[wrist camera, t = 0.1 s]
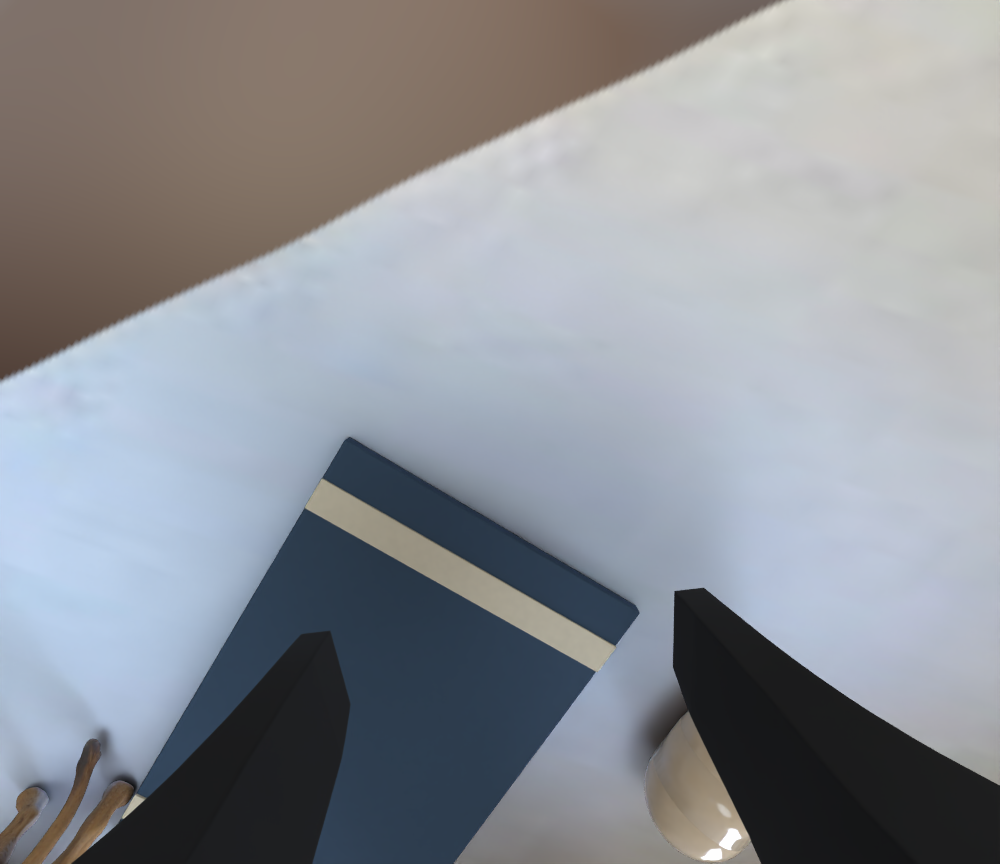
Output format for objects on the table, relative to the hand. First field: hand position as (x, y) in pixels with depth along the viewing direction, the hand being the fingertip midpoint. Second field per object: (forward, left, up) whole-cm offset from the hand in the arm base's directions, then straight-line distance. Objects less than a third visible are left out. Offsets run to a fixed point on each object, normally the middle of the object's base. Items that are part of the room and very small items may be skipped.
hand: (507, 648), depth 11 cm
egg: (-5, -14, -10) cm, 18 cm away
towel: (-12, -1, -11) cm, 16 cm away
